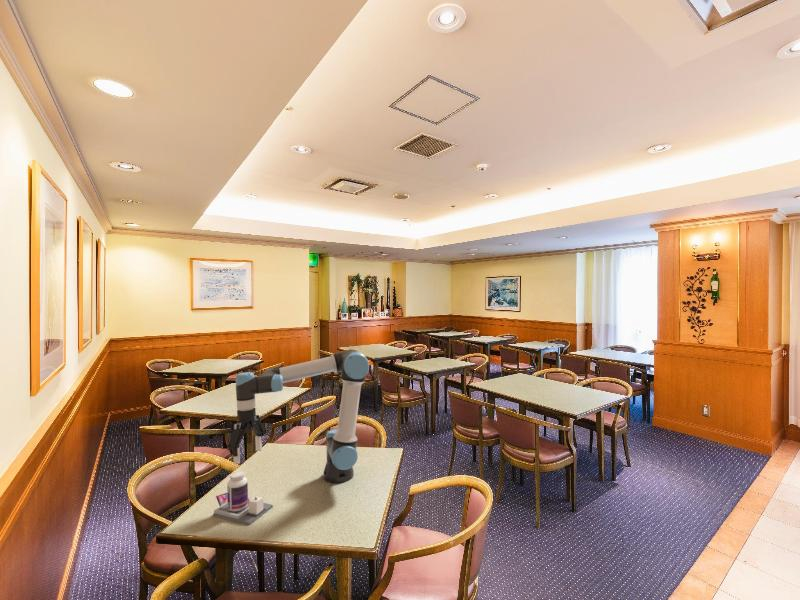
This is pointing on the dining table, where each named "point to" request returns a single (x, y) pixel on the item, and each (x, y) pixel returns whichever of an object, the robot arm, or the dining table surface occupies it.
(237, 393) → the robot arm
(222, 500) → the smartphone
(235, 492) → the pill bottle
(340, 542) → the dining table surface
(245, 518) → the dock plate
